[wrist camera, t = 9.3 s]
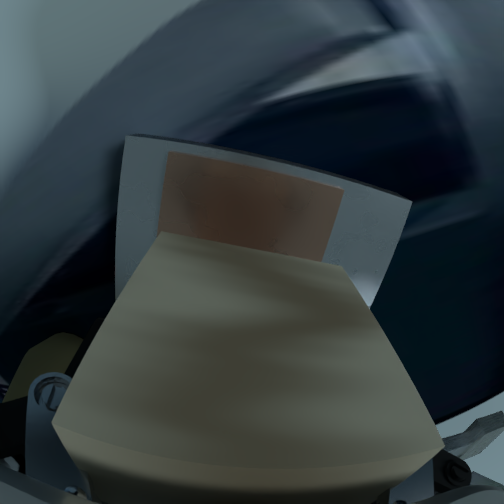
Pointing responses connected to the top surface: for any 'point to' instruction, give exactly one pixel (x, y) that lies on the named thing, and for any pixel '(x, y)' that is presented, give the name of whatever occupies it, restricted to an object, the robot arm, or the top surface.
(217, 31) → the top surface
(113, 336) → the maple block
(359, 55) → the top surface
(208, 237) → the press
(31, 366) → the squeeze bottle
